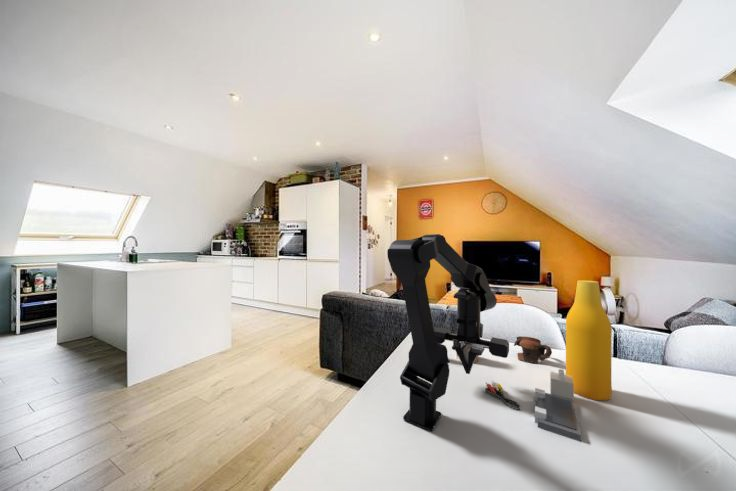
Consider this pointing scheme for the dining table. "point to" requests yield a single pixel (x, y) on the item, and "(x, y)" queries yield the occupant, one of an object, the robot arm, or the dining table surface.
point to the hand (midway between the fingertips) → (468, 373)
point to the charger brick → (561, 385)
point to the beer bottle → (589, 343)
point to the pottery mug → (532, 349)
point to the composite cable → (500, 395)
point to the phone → (556, 415)
